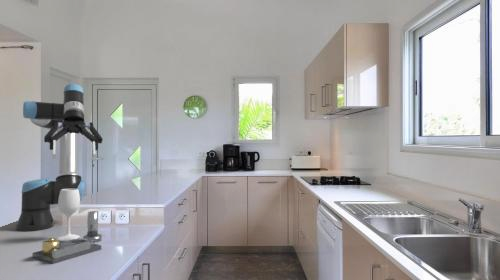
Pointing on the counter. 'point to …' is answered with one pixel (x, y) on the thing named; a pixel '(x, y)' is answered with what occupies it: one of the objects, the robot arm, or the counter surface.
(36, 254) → the carrier plate
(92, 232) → the flanged metal post
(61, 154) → the robot arm
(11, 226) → the counter surface
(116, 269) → the counter surface
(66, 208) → the wineglass
